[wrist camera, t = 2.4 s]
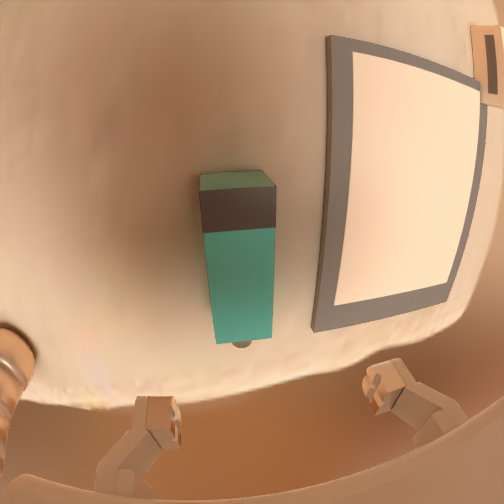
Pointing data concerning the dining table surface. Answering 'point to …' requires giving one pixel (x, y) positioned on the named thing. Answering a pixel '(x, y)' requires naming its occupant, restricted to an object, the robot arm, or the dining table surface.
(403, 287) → the writing board
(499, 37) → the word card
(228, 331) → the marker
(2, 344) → the plastic bottle
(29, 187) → the dining table surface
